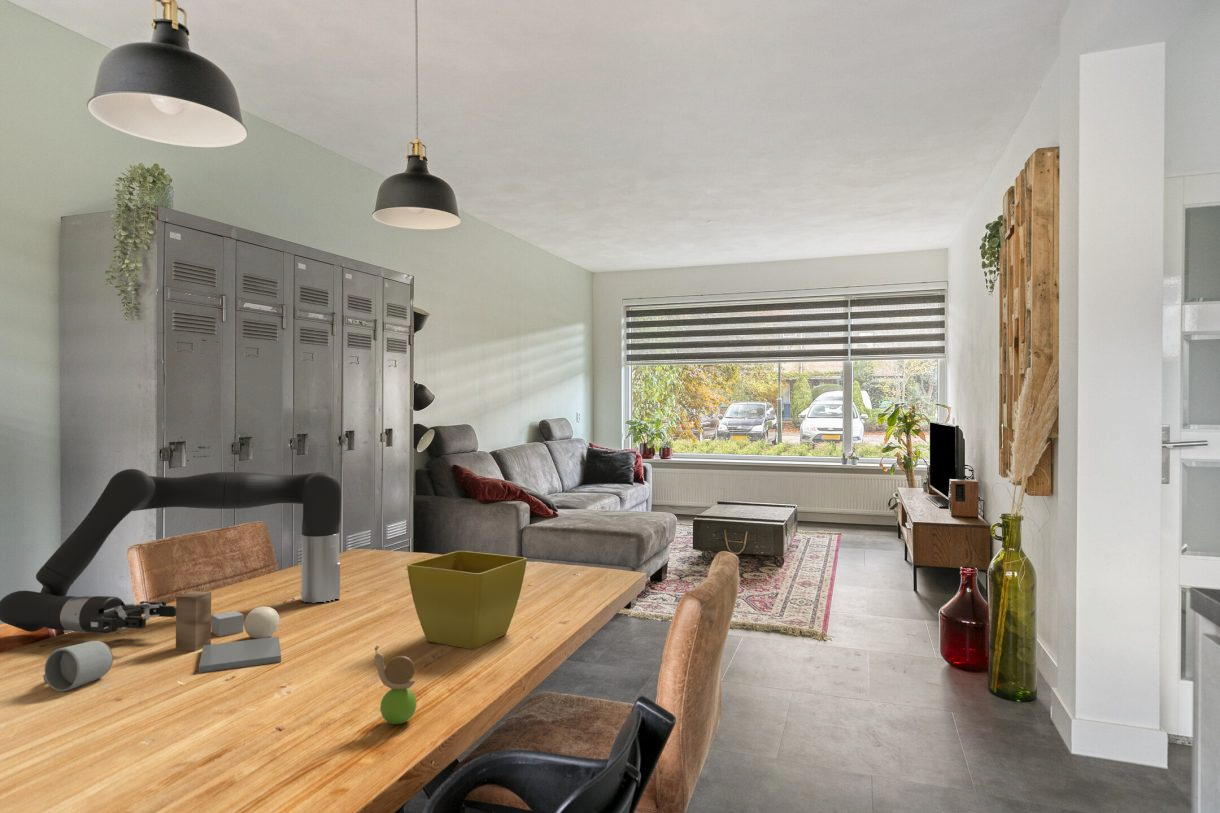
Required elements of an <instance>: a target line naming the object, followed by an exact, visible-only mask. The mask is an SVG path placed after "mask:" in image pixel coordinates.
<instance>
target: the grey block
mask: <svg viewBox="0 0 1220 813" xmlns="http://www.w3.org/2000/svg"><path fill="white" fill-rule="evenodd" d="M211 631H212V632H213V633H215V634H216V635H215V634H214V635H215V636H217V637H218V636H221V637H225V636H224V635H226V636H230V634H232V635H235V633H237V634H240V633H239V632H242V633H244V614H243V613H241V612H240V611H237V610H232V611H226V612H220V613H215V614H211ZM212 632H211V633H212ZM213 633H212V634H213Z"/></svg>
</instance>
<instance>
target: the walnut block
mask: <svg viewBox="0 0 1220 813" xmlns="http://www.w3.org/2000/svg"><path fill="white" fill-rule="evenodd" d="M175 604H176V605H175V606H176V616H175V651H180V652H181V651H182V652H183V651H185V652H197V651H199V650H203V645H211V644H212V640H211V639H212V632H211V630H212V591H193V590H192V591H188V592H186V593H183V594H180V595H176V597H175Z"/></svg>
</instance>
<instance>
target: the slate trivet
mask: <svg viewBox="0 0 1220 813" xmlns="http://www.w3.org/2000/svg"><path fill="white" fill-rule="evenodd" d="M280 644H281V642H280V637H279V636H270V637H267V638H261V639H255V638H253V639H247V640H239V641H228V642H221V643H211V645H203V648H202V649H201V650H202V651H201V655H200V660H199V664H198V673H199V674H201V673H208V672H216V671H223V670H230V669H238V668H246V667H252V666H253V667H254V666H260V665H268V664H274V663H281V662H282V652H281V646H280Z"/></svg>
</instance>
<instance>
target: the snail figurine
mask: <svg viewBox="0 0 1220 813" xmlns="http://www.w3.org/2000/svg"><path fill="white" fill-rule="evenodd" d="M379 648H380V646H379V645H376V646H375V647H374V651H378V650H379ZM384 659H385V655H384V654H383V653H381V652H380V653H378V652H377V653H375V655H374V661H375V663H376V670H377V673H378V678H379V679H380V681H381V683H382V684H383V685H384V686H385V687H387V688H389V690H388V691H387V692H386V693H385V694H384V695H383V697H382V699H381V702H380V707H379V708H380V709H379V710H380V713H381V716H382V718H383V719H384V720H385V721H386V722H387V723H389V724H392V725H401V724H404V723H406V722H407V721H409V720H410V719H412V717H413V716H414V714H415V712H416V709H417V698H416V696H415V694H414V692H413V691H412V690H410V689H409V688H412V686H413V685H414V684H415V683H416V680H413V679H412V678H413V677H414V676H415V673H416V667H415V663H414V662H413V660H412V659H410V657H408V656H405V655H397V656H395V657H392V658H391V659H390V660H389V661H388V662H387V664H386V667H385V664H384V663H385V662H384V661H385V660H384Z"/></svg>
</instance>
